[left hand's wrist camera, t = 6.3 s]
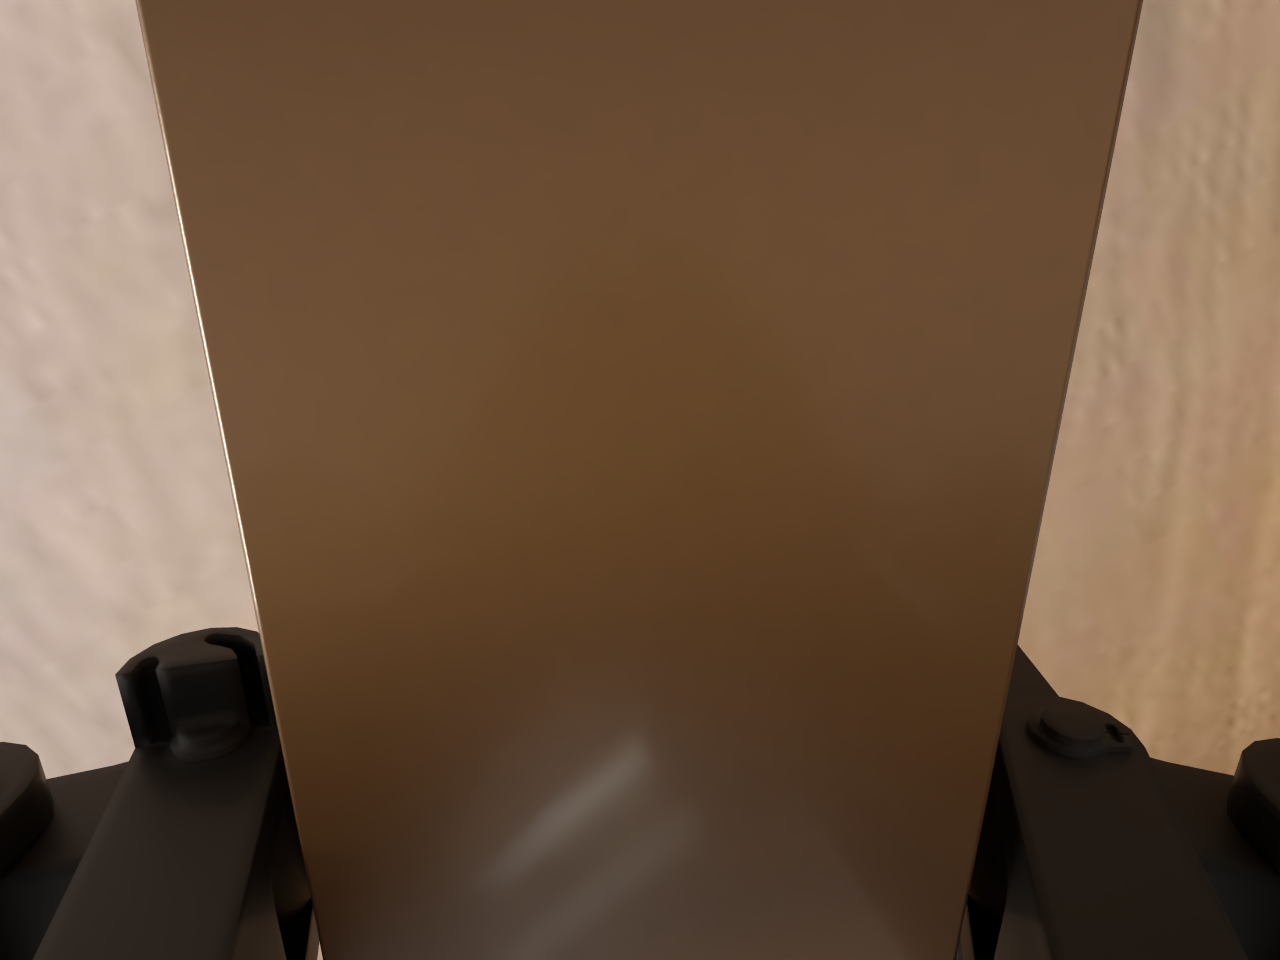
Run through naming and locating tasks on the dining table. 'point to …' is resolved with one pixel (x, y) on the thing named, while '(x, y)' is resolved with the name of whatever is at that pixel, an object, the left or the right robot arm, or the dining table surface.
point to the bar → (639, 443)
